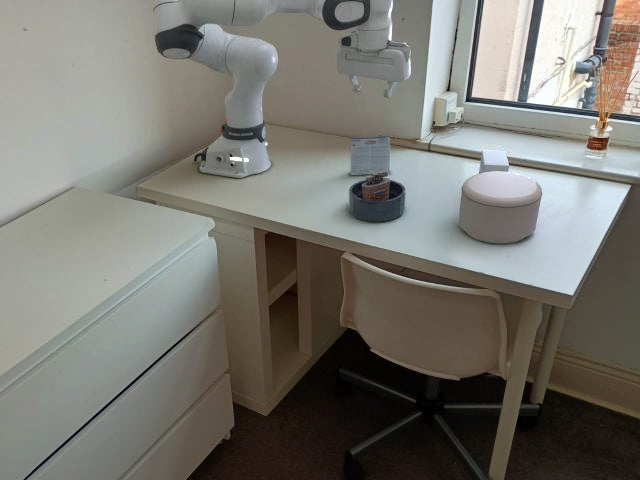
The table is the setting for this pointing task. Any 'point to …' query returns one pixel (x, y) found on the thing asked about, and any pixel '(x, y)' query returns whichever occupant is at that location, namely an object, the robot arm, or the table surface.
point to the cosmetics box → (493, 161)
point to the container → (499, 206)
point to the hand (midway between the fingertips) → (372, 94)
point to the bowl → (377, 203)
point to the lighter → (376, 187)
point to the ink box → (370, 155)
